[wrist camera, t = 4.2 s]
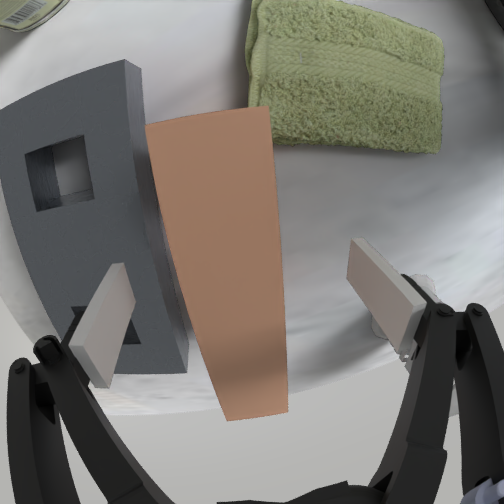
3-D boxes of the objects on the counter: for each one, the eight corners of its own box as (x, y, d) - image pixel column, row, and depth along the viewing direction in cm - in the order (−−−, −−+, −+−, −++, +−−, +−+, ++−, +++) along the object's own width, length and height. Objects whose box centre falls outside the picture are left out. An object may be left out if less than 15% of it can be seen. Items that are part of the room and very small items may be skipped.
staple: (186, 121, 18) (144, 125, 8) (240, 113, 19) (268, 105, 8) (220, 309, 26) (226, 421, 16) (262, 303, 27) (288, 412, 16)
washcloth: (244, -7, 14) (248, -24, 11) (429, 37, 16) (450, 33, 13) (241, 144, 20) (245, 148, 17) (426, 160, 22) (447, 168, 19)
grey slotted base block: (20, 111, 15) (-8, 114, 12) (141, 68, 16) (124, 59, 12) (91, 346, 27) (81, 371, 24) (189, 344, 28) (187, 373, 24)
